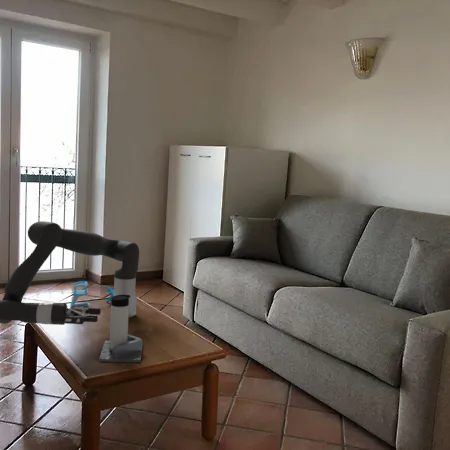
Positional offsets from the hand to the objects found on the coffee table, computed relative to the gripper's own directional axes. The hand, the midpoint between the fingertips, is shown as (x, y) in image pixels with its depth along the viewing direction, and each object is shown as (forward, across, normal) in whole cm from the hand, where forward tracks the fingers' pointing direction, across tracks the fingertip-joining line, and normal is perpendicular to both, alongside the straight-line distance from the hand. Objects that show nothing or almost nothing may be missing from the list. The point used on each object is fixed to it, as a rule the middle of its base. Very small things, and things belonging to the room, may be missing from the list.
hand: (99, 315), depth 184 cm
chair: (-15, +55, +14) cm, 59 cm away
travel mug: (+7, 0, +13) cm, 15 cm away
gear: (0, +64, +14) cm, 66 cm away
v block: (+8, 0, +14) cm, 16 cm away
